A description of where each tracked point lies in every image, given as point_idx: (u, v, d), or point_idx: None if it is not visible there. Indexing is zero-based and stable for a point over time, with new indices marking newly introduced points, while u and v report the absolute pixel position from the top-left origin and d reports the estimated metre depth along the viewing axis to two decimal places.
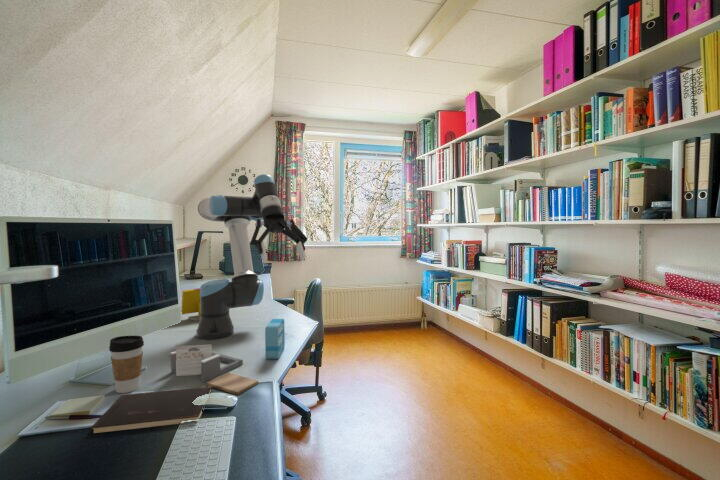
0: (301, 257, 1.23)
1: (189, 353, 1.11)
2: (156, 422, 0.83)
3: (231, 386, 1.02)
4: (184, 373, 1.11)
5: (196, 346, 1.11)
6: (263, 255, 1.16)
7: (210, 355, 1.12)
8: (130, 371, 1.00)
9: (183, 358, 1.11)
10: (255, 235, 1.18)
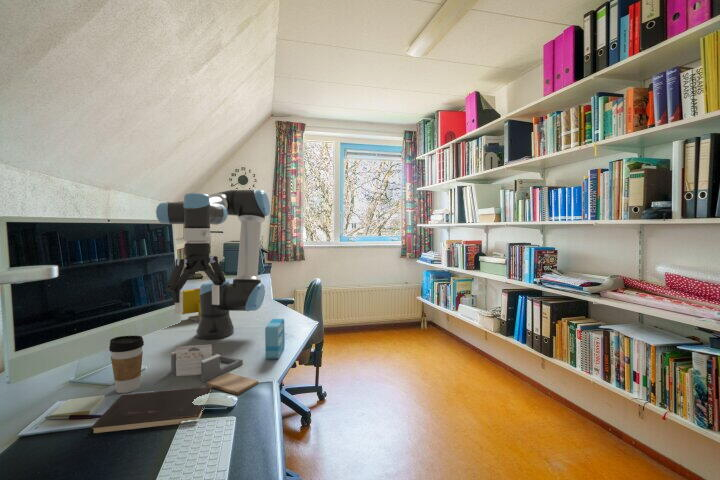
0: (214, 301, 1.18)
1: (189, 353, 1.11)
2: (156, 422, 0.83)
3: (231, 386, 1.02)
4: (184, 373, 1.11)
5: (196, 346, 1.11)
6: (178, 306, 1.05)
7: (210, 355, 1.12)
8: (130, 371, 1.00)
9: (183, 358, 1.11)
10: (175, 282, 1.03)
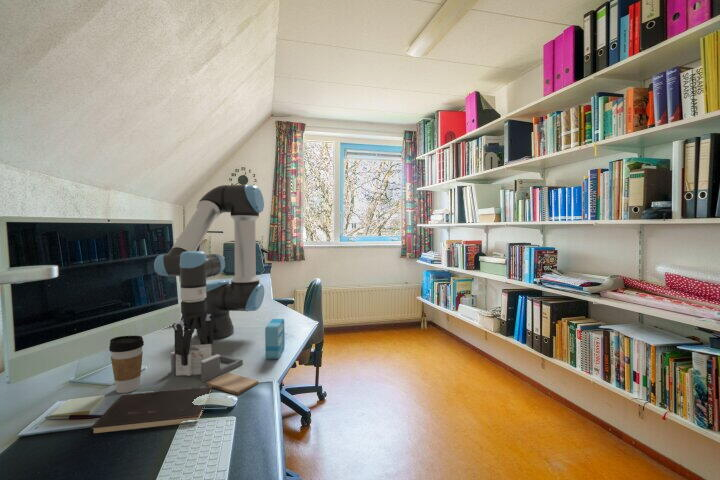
0: None
1: (189, 353, 1.11)
2: (156, 422, 0.83)
3: (231, 386, 1.02)
4: None
5: (196, 346, 1.11)
6: (187, 368, 1.09)
7: (210, 355, 1.12)
8: (130, 371, 1.00)
9: None
10: (181, 347, 1.07)
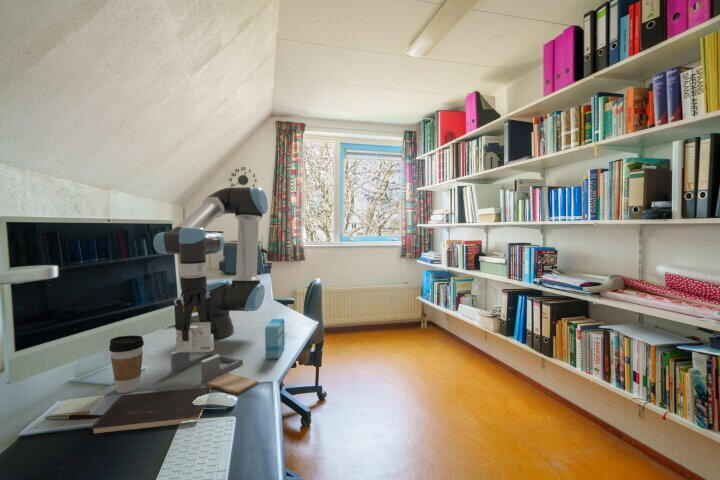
0: None
1: None
2: (156, 422, 0.83)
3: (231, 386, 1.02)
4: (184, 350, 1.11)
5: (195, 323, 1.11)
6: (187, 344, 1.10)
7: (209, 333, 1.12)
8: (130, 371, 1.00)
9: None
10: (182, 322, 1.07)
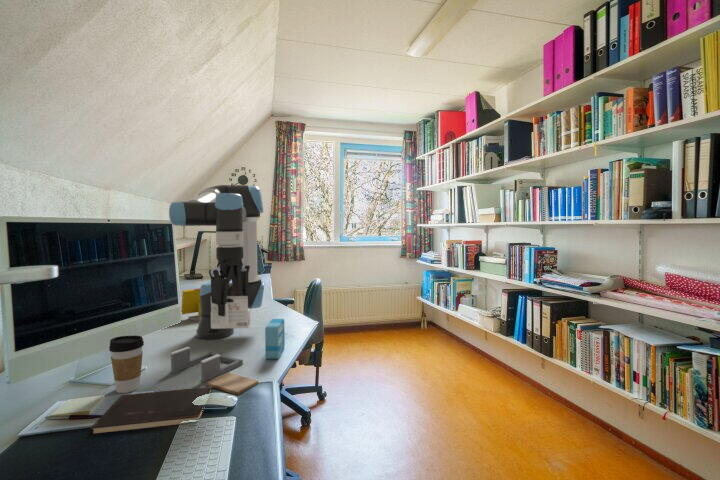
0: None
1: None
2: (156, 422, 0.83)
3: (231, 386, 1.02)
4: (219, 326, 1.03)
5: (231, 297, 1.03)
6: (224, 319, 1.01)
7: (246, 308, 1.03)
8: (130, 371, 1.00)
9: None
10: (219, 295, 0.99)
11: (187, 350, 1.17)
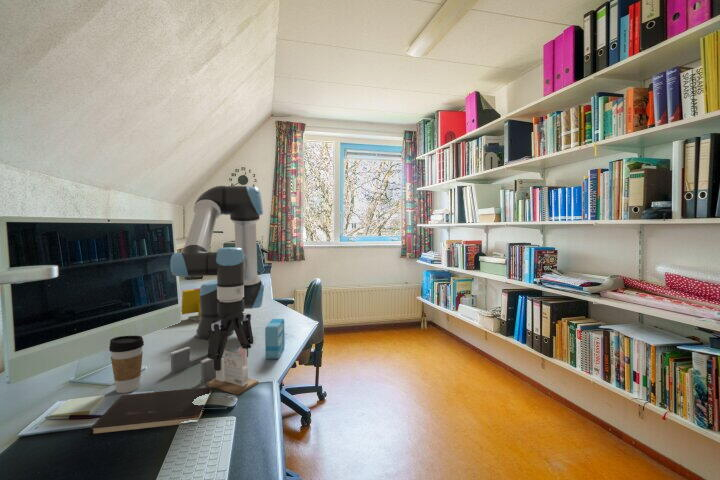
0: None
1: (225, 358, 1.04)
2: (156, 422, 0.83)
3: (231, 386, 1.02)
4: None
5: (230, 352, 1.03)
6: (220, 374, 1.00)
7: (241, 366, 1.02)
8: (130, 371, 1.00)
9: None
10: (216, 350, 0.98)
11: (187, 350, 1.17)
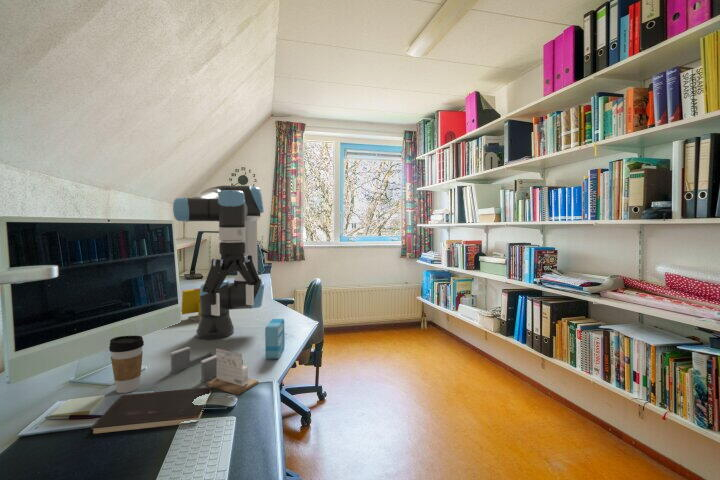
0: (248, 302, 1.14)
1: (225, 358, 1.04)
2: (156, 423, 0.83)
3: (231, 386, 1.02)
4: (222, 378, 1.05)
5: (230, 352, 1.03)
6: (215, 308, 1.02)
7: (241, 366, 1.02)
8: (130, 371, 1.00)
9: (221, 362, 1.05)
10: (212, 284, 0.99)
11: (187, 350, 1.17)
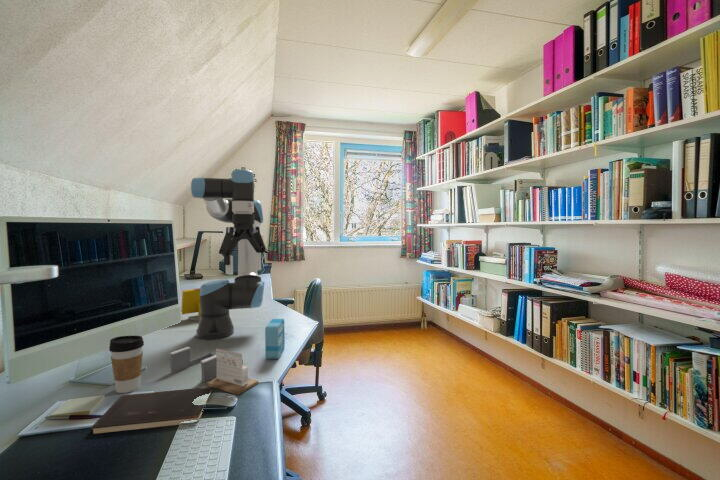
0: (256, 267, 1.33)
1: (225, 358, 1.04)
2: (156, 423, 0.83)
3: (231, 386, 1.02)
4: (222, 378, 1.05)
5: (230, 352, 1.03)
6: (229, 268, 1.20)
7: (241, 366, 1.02)
8: (130, 371, 1.00)
9: (221, 362, 1.05)
10: (227, 247, 1.18)
11: (187, 350, 1.17)
